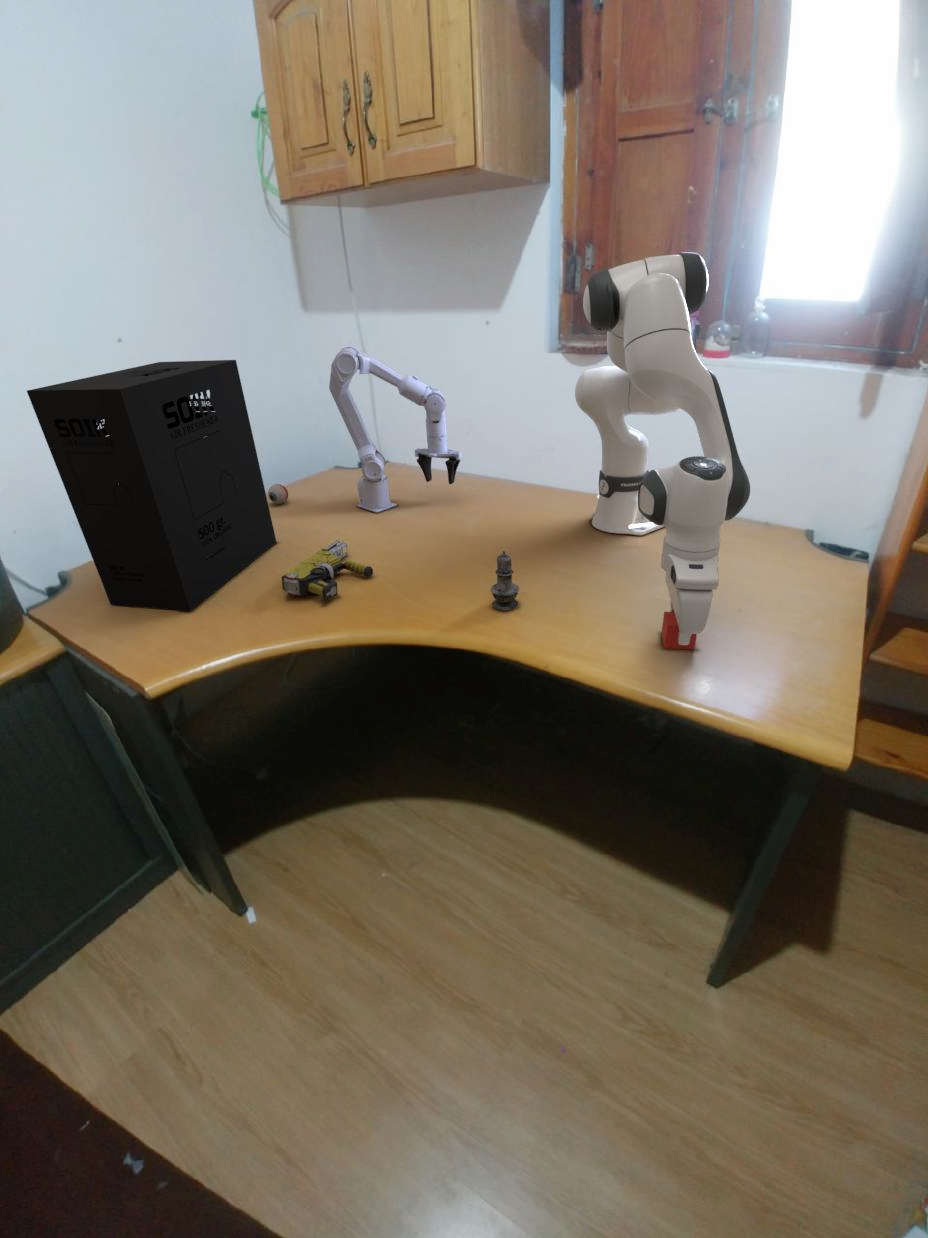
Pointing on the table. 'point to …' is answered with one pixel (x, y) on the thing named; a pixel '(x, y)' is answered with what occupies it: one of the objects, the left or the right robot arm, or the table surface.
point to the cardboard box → (160, 478)
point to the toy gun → (321, 572)
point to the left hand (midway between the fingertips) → (440, 481)
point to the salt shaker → (504, 585)
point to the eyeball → (278, 493)
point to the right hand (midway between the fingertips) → (678, 629)
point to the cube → (674, 633)
